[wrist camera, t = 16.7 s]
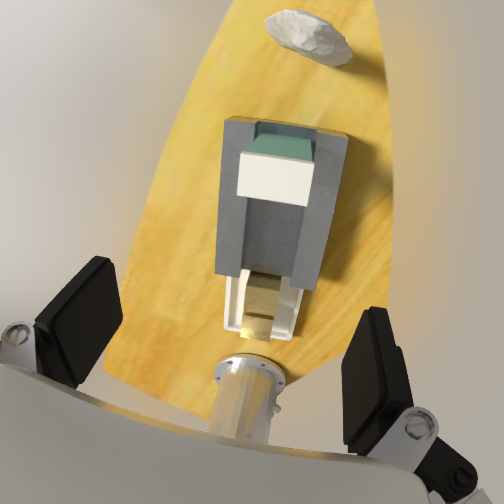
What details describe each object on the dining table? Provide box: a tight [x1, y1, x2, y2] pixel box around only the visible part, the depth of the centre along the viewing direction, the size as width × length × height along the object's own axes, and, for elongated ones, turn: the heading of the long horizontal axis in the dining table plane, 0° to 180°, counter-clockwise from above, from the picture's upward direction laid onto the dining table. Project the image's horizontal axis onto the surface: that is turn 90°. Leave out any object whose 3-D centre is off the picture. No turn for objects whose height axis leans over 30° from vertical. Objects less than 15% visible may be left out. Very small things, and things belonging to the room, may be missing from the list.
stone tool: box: [264, 9, 353, 67], centre depth 21 cm, size 8×3×15 cm, turn 69°
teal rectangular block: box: [237, 133, 314, 206], centre depth 27 cm, size 3×5×11 cm, turn 84°
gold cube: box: [243, 270, 282, 316], centre depth 40 cm, size 4×4×4 cm
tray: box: [224, 269, 304, 341], centre depth 44 cm, size 11×10×2 cm
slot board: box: [215, 116, 349, 291], centre depth 35 cm, size 18×12×4 cm, turn 174°
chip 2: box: [240, 311, 274, 342], centre depth 43 cm, size 4×4×4 cm
